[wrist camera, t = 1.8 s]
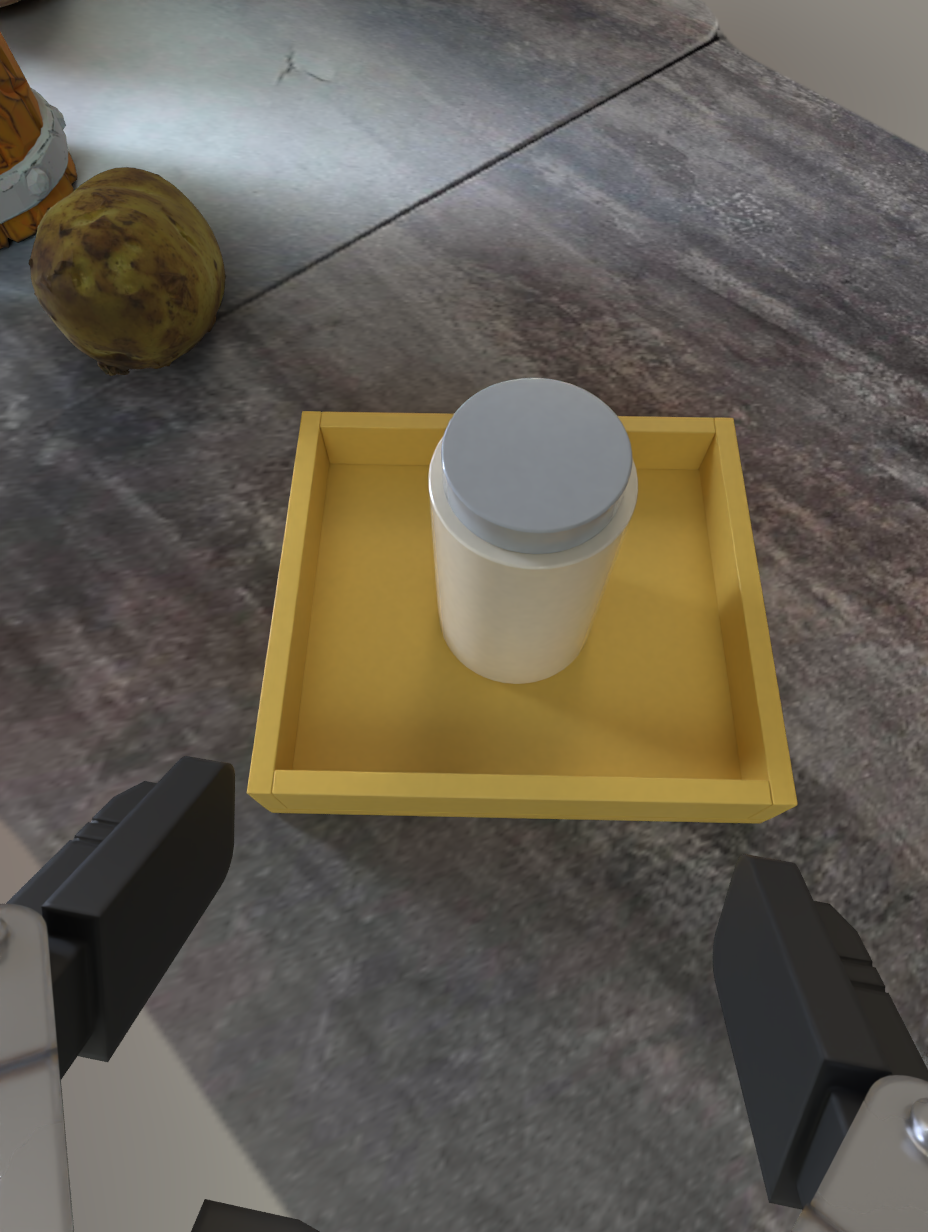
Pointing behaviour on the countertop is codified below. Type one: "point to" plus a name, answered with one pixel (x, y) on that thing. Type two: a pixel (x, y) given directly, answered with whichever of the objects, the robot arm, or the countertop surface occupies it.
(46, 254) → the potato
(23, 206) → the mug
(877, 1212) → the robot arm
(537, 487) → the jar with grey lid
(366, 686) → the tray
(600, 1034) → the countertop surface
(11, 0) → the clay pot
